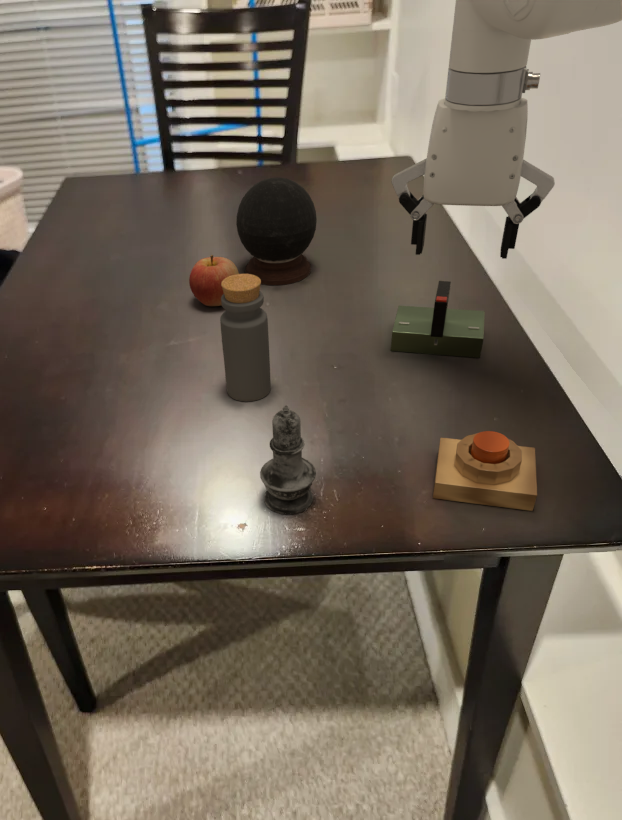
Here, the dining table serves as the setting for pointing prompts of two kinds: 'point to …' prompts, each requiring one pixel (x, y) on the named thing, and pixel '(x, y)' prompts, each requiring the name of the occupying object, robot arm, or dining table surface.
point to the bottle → (245, 338)
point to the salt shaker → (287, 467)
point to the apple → (210, 279)
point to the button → (490, 447)
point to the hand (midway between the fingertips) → (460, 252)
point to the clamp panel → (458, 334)
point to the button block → (485, 476)
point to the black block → (440, 309)
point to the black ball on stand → (277, 230)
